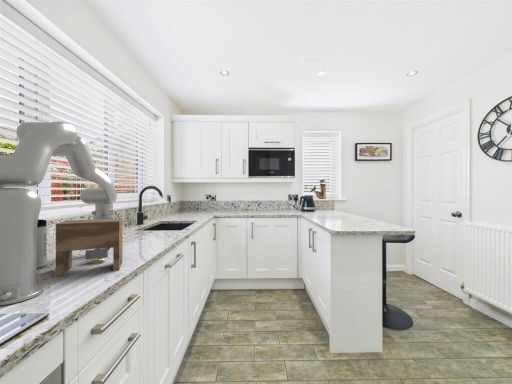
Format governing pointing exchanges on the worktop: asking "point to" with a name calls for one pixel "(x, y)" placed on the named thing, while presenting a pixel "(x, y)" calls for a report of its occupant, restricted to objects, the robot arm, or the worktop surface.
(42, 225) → the travel mug
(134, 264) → the worktop surface
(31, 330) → the worktop surface
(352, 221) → the worktop surface
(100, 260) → the puck
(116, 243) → the wooden step stool
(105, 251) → the scraper
